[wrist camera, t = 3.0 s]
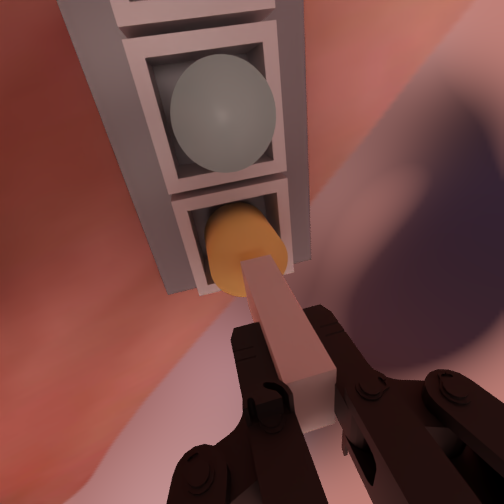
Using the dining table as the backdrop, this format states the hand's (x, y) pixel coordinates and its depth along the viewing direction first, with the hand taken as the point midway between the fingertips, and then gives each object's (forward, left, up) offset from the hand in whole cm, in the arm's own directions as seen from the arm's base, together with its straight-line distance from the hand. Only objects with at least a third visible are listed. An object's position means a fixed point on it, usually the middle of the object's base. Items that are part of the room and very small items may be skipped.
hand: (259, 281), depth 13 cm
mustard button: (0, 0, -5) cm, 5 cm away
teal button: (-7, 0, -5) cm, 9 cm away
